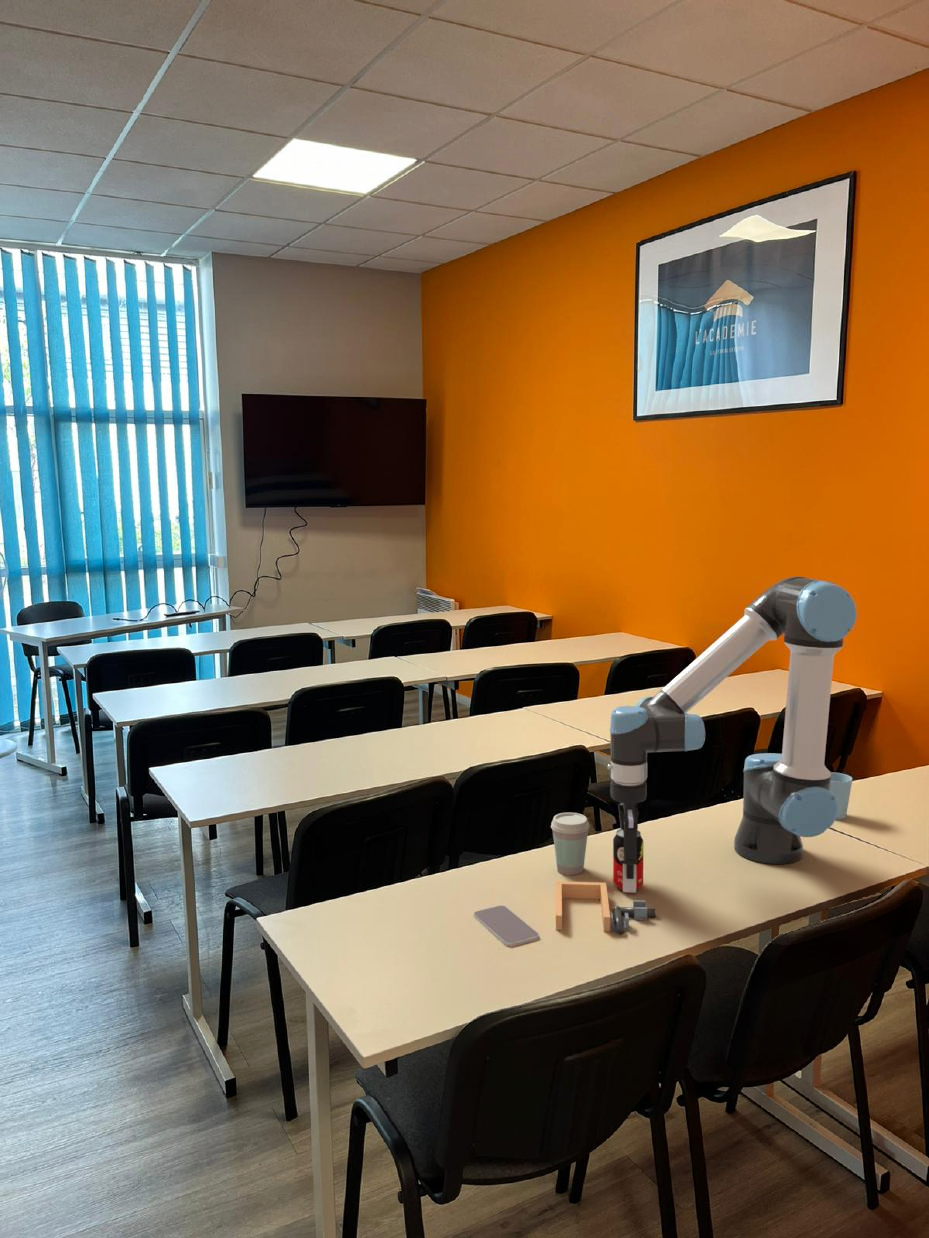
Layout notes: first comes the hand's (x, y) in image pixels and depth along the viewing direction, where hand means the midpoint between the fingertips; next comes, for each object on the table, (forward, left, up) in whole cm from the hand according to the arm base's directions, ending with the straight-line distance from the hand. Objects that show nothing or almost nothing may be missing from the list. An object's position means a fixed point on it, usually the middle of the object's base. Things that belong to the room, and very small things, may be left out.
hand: (628, 883), depth 192 cm
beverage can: (0, 0, -1) cm, 1 cm away
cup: (-56, -45, -1) cm, 72 cm away
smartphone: (+25, +19, -1) cm, 32 cm away
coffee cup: (+12, -8, -1) cm, 15 cm away
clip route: (0, +16, -1) cm, 16 cm away
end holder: (+10, +12, -1) cm, 16 cm away
